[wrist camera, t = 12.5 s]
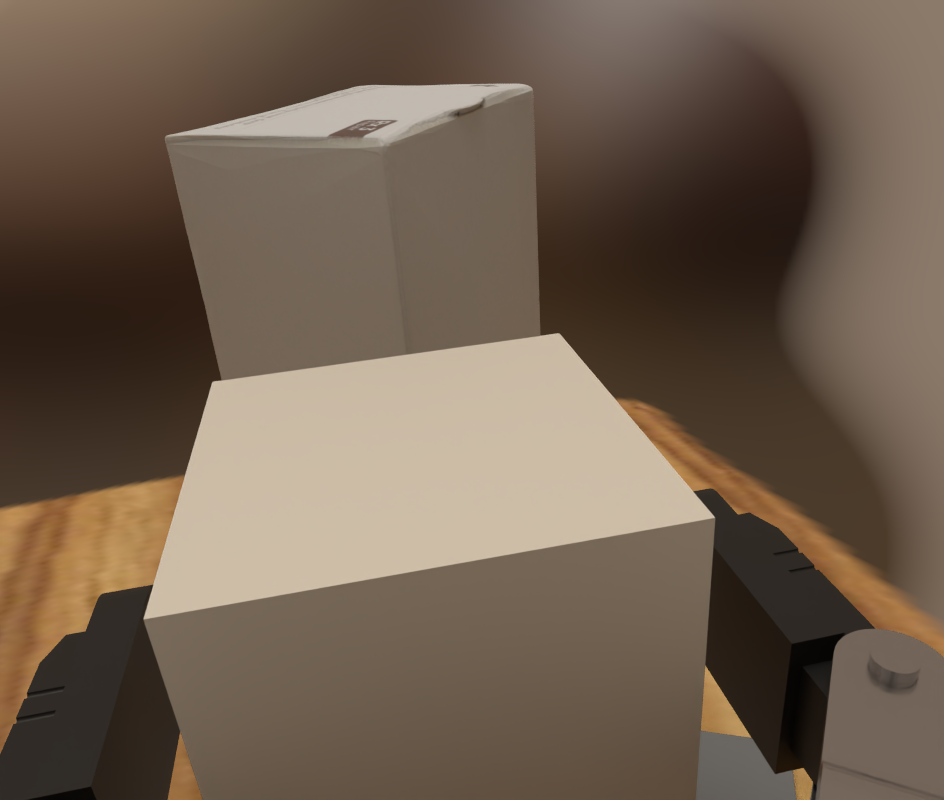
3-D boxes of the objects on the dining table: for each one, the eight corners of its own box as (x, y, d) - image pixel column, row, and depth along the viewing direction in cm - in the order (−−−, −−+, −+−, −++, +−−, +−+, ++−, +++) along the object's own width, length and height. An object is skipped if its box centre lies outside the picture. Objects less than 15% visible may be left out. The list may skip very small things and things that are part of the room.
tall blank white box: (332, 1194, 12) (143, 619, 7) (326, 856, 16) (212, 382, 12) (675, 1098, 12) (715, 517, 8) (573, 801, 17) (559, 333, 12)
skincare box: (406, 502, 30) (351, 84, 23) (557, 530, 27) (541, 74, 21) (271, 652, 23) (142, 121, 17) (456, 707, 21) (388, 111, 14)
